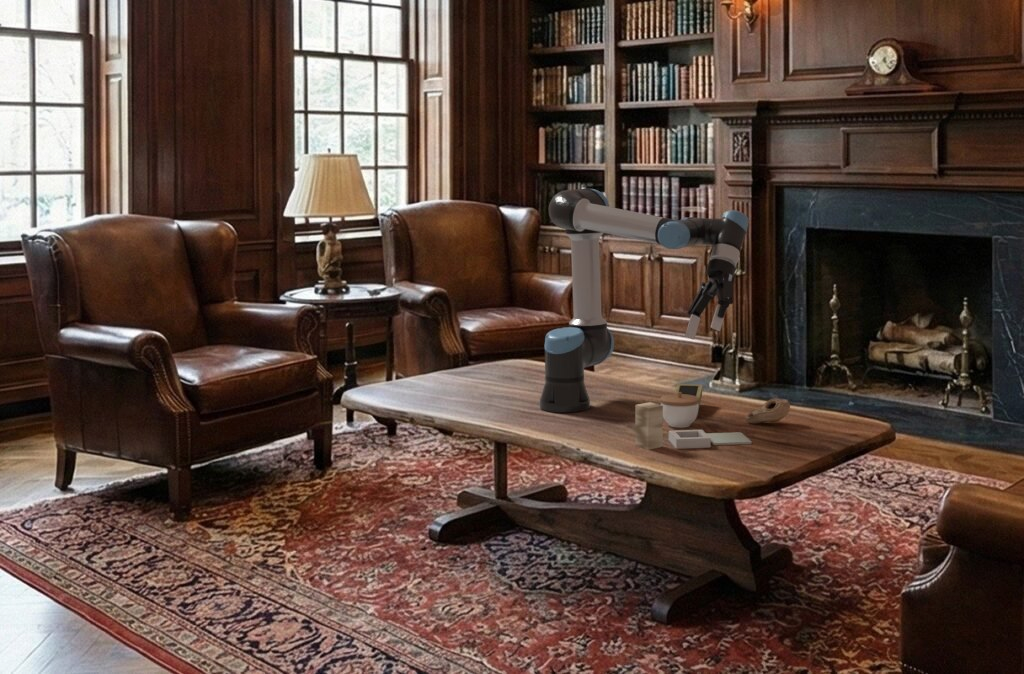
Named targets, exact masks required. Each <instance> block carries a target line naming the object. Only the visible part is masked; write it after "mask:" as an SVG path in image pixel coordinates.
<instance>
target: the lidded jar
mask: <svg viewBox="0 0 1024 674" xmlns="http://www.w3.org/2000/svg"><path fill="white" fill-rule="evenodd" d="M660 405H663V421H665V422H666V423H667V424H668V426H669V427H672V428H688V427H691V425H692V424H693V423H694V422H695V420H696V419H697V418H698V415H699V414H698V413H699V410H698V407H699V408H700V406H699V398H698V397H696V396H693V395H687V394H682V392H678V394H675V393H674V394H673V393H672V394H665V395H663V396H661V397H660ZM697 414H698V415H697ZM696 417H697V418H696Z"/></svg>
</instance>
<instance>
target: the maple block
mask: <svg viewBox="0 0 1024 674" xmlns="http://www.w3.org/2000/svg"><path fill="white" fill-rule="evenodd" d="M634 407H635V410H634V411H635V412H634V413H635V416H634V417H635V419H634V420H635V422H634V424H635V427H634V428H635V430H634V431H635V432H634V433H635V435H634V436H635V437H634V438H635V439H634V441H635V442H634V445H635V447H638V448H641V449H644V450H647V451H649V450H653V449H658V448H662V447H663V431H664V430H663V426H664V425H663V423H664V422H663V421H664V418H663V405H661V404H658V403H655V402H651V401H650V402H649V401H648V402H644V403H638V404H635V406H634Z"/></svg>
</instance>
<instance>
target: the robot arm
mask: <svg viewBox="0 0 1024 674" xmlns="http://www.w3.org/2000/svg"><path fill="white" fill-rule="evenodd" d="M548 215H549V218H550V221H552V224H554V225H555V226H556V227H558V228H559V229H562V230H565V235H566V237H568V238H569V240H570V251H571V254H570V255H571V279H572V280H571V281H572V306H573V309H572V310H573V311H572V312H573V318H572V319H571V320H570V321H569V323H568V327H561V328H559V327H558V328H555V329H552V330H549V331H548V332H547V333H546V334H545V338H544V347H543V348H544V370H545V372H544V373H545V374H544V375H545V377H544V379H545V380H544V385H543V389H542V392H541V394H540V397H539V408H540V409H541V410H543V411H546V412H552V413H577V412H578V413H579V412H583V411H586V410H589V409H590V407H591V399H590V396H589V393H588V389H587V387H586V383H585V368H588V367H592V366H597V365H599V364H601V363H603V362H605V361H606V360H607V359H609V358H610V357H611V355H612V353H613V351H614V347H615V340H614V339H615V338H614V336H613V334H612V332H611V331H610V329H609V328H608V326H607V325H608V323H607V320H606V319H605V318H604V317H603V315H602V292H601V291H602V290H601V289H602V288H601V264H600V263H601V261H600V237H602V235H604V234H607V235H608V234H609V235H613V236H616V237H617V236H618V237H621V238H622V237H623V238H629V239H631V240H632V239H633V240H636V241H642V242H647V243H652V244H657V245H661V246H662V247H663V248H666V249H668V250H680V249H682V248H688V247H693V246H703V245H704V246H713V247H712V250H711V253H710V257H709V261H708V265H707V266H706V267H707V268H706V271H705V272H706V273H705V274H706V275H707V276H708V280H707V282H706V283H705V282H704V281H703V282H702V283H701V284H700V287H699V289H698V292H697V294H696V295H695V297H694V299H693V301H692V303H691V305H690V307H689V308H688V311H687V312H686V313H687V315H689V316H690V318H689V321H688V324H687V328H686V329H685V330H686V331H685V334H684V336H685V337H686V338H689V339H691V340H695V338H696V336H697V331H698V329H699V325H700V321H701V319H702V318H701V315H702V313H703V312H704V310H705V309H706V307H707V306H708V304H709V303H710V301H711V300H714V298H715V297H716V296H717V305H716V306H715V308H714V313H713V316H712V319H711V323H710V328H711V329H713V330H716V331H717V332H720V331H721V329H722V327H723V322H724V319H725V316H726V313H727V309H728V308H729V306H730V305H733V304H734V302H735V301H734V282H735V278H736V277H735V272H736V267H737V264H738V263H739V258H740V253H741V252H742V247H743V244H744V241H745V237H746V235H747V233H748V232H747V231H748V228H749V227H748V226H749V222H750V221H749V217H748V216H747V215H746V214H745V213H743V212H742V211H739V210H735V209H729V210H725V211H724V212H723V214H722V216H721V218H708V217H707V218H706V217H705V218H704V217H694V216H691V217H682V218H681V219H679V220H678V219H673V218H669V217H668V218H667V217H662V216H658V215H657V216H656V215H653V214H648V213H642V212H637V211H631V210H628V209H621V208H617V207H611V206H610V203H609V201H608V198H607V197H606V196H605V195H604V193H602V192H601V191H599V190H597V189H594V188H586V187H585V188H577V189H567V190H565V189H564V190H561V191H559V192H557V193H556V194H555V195H554V196H552V199H551V200H550V202H549V205H548Z"/></svg>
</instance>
